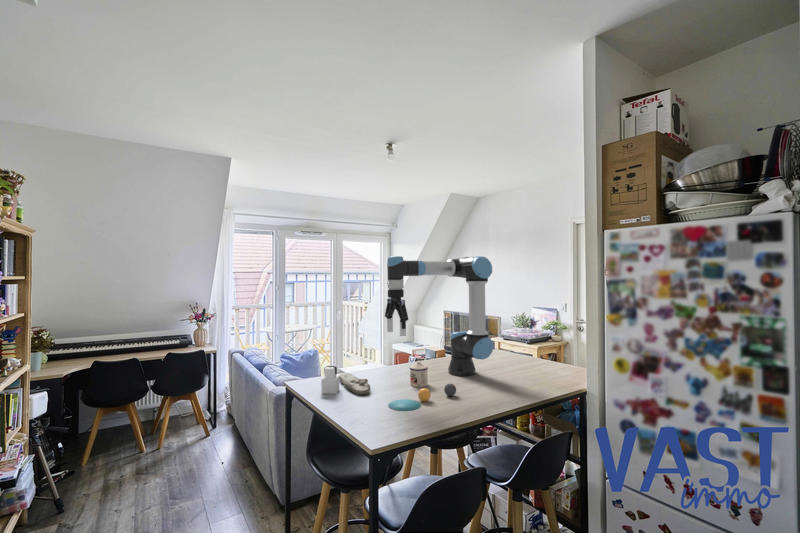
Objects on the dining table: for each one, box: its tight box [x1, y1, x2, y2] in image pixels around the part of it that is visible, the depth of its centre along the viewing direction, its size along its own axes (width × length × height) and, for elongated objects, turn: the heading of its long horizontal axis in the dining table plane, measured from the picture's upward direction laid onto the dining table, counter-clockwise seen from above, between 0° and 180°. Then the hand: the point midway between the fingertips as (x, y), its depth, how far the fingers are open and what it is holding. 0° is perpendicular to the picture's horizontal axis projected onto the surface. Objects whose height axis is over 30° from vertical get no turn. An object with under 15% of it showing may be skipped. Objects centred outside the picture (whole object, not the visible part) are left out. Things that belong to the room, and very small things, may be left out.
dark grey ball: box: [443, 383, 457, 397], centre depth 177 cm, size 6×6×6 cm
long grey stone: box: [339, 372, 371, 396], centre depth 195 cm, size 35×5×10 cm
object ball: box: [417, 387, 431, 402], centre depth 170 cm, size 6×6×6 cm
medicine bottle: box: [321, 365, 340, 395], centre depth 186 cm, size 7×7×12 cm
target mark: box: [387, 398, 422, 412], centre depth 165 cm, size 14×14×1 cm
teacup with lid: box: [409, 360, 429, 388], centre depth 194 cm, size 12×9×12 cm
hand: (396, 334), depth 183 cm, fingers open, 13 cm apart
